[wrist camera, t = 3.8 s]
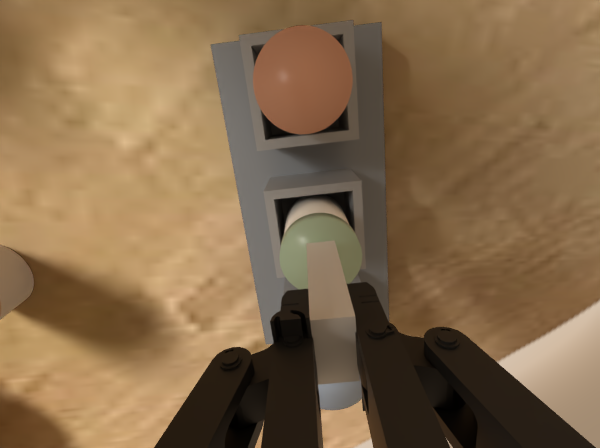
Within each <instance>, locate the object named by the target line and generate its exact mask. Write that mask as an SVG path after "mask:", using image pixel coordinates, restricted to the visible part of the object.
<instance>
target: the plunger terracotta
mask: <svg viewBox="0 0 600 448" xmlns="http://www.w3.org/2000/svg"><path fill="white" fill-rule="evenodd" d="M352 84H353V76H352V68H351V64H350V61H349V58H348V56H347V54H346V52H345V50H344V48H343V47H342V45H341V44H340V43H339V42H338V41H337V40H336V39H335V38H334V37H333V36H332V35H331V34H329V33H328V32H326V31H324V30H322V29H320V28H317V27H313V26H306V25H299V26H293V27H289V28H286V29H284V30H282V31H280V32H278V33H277V34H275V35H274V36H273V37H271V38H270V39H269V40H268V41H267V43H266V44H265V45H264V46H263V48H262V49H261V51H260V53H259V55H258V57H257V60H256V63H255V66H254V72H253V88H254V93H255V97H256V100H257V103H258V105H259V107H260V109H261V110H262V112H263V114H264V115H265V116H266V117H267V118H268V120H269V121H271V122H272V123H273V124H274V125H275V126H277V127H278V128H280V129H282V130H284V131H287V132H289V133H294V134H311V133H316V132H319V131H321V130H323V129H325V128H327V127H328V126H330V125H331V124H332V123H334V122H335V121H336V120H337V119H338V118H339V117H340V115H341V114H342V113H343V111H344V110H345V108H346V106H347V104H348V101H349V99H350V95H351V91H352Z"/></svg>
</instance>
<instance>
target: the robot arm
mask: <svg viewBox="0 0 600 448" xmlns="http://www.w3.org/2000/svg"><path fill="white" fill-rule="evenodd" d="M306 248H307V271H308V289H298V290H288V291H286V293H285V294H284V295H283V297H282V300H281V310H280V311H279V312H277V313H276V314H275V315H273V316H272V318H271V320H270V325H271V331H272V336H273V344H272V345H271V346H270V347H268V348H267V349H265V350H263V351H261V352H258V353H255V354H252V355H251V353H250V352H249V351H248V350H247V349H245V348H241V347H232V348H229V349H226V350H224V351H222V352H220V353H219V354H217V355H216V357H215V358H214V359H213V360H212V361H211V363H210V364H209V366H208V367H207V369H206V370H205V372H204V373H203V375H202V376H201V378H200V379H199V381H198V382H197V384H196V385H195V387H194V388H193V390H192V391H191V393H190V394H189V396H188V397H187V399H186V400H185V402H184V403H183V405H182V406H181V408H180V409H179V411H178V413H177V414H176V416H175V417H174V419H173V420H172V422H171V423H170V425H169V426H168V428H167V429H166V431H165V432H164V434H163V435H162V437H161V438H160V440H159V441H158V443H157V444H156V446H155V447H154V448H255V445H256V443H257V440H258V437H259V434H260V432H261V429H262V426H263V422H264V428H263V436H262V445H261V448H323V438H322V424H321V410H320V397H319V389H318V385H320V384H332V383H343V382H354V381H360V379H361V389H362V404H363V411H366V415H367V420H368V425H369V429H370V434H371V438H372V443H373V448H450V446H449V444H448V442H447V440H448V441H449V443H450V444H451V445H452V447H453V448H596V447H594V446H593V445H592V444H591V443H589V442H588V441H587V440H586V439H585V438H584V437H583V436H582V435H580V434H579V433H578V432H577V431H576V430H575V429H573V428H572V427H571V426H570V425H569V424H568V423H566V422H565V421H564V420H563V419H562V418H561V417H560V416H558V415H557V414H556V413H555V412H554V411H552V410H551V409H550V408H549V407H548V406H547V405H546V404H544V403H543V402H542V401H541V400H540V399H539V398H537V397H536V396H535V395H534V394H533V393H532V392H531V391H529V390H528V389H527V388H526V387H525V386H524V385H522V384H521V383H520V382H519V381H518V380H517V379H515V378H514V377H513V376H512V375H511V374H510V373H508V372H507V371H506V370H505V369H504V368H503V367H501V366H500V365H499V364H498V363H497V362H496V361H495V360H493V359H492V358H491V357H490V356H489V355H488V354H486V353H485V352H484V351H483V350H482V349H481V348H479V347H478V346H477V345H476V344H475V343H474V342H473V341H471V340H470V339H469V338H468V337H467V336H466V335H464V334H463V333H461V332H459V331H457V330H455V329H452V328H447V327H436V328H432V329H430V330H428V331H427V332H426V333H425V335H424V338H420V337H412V336H408V335H404V334H402V333H399V332H398V330H397V329H396V327H395V326H394V325H392V324H391V323H389V321H388V319H387V317H386V314H385V312H384V310H383V307H382V305H381V303H380V301H379V298H378V296H377V293H376V291H375V289H374V287H373V286H371V285H370V284H369V283H367V282H360V283H350V284H346V280H345V276H344V273H343V269H342V266H341V262H340V258H339V255H338V251H337V247H336V244H335V240H334V241H325V242H315V243H306ZM359 375H360V377H359ZM446 438H447V440H446Z"/></svg>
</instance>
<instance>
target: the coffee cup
mask: <svg viewBox="0 0 600 448" xmlns="http://www.w3.org/2000/svg"><path fill="white" fill-rule="evenodd" d="M33 288H34V278H33V274H32V271H31V269H30V267H29V266H28V264H27V263H26V262H25V260H24V259H23V258H22V257H21V256H20V255H18V254H17V253H16V252H14V251H13V250H11V249H9V248H7V247H5V246H2V245H0V320H1V319H2V318H3V317H4V316H6V315H7V314H8V313H9V312H11V311H12V310H13V309H14V308H16V307H17V306H18V305H20V304H21V303H22V302H23V301H25V300H26V299H27V298H28V297H29V296H30V295H31V293H32V291H33Z"/></svg>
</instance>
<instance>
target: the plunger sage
mask: <svg viewBox="0 0 600 448" xmlns="http://www.w3.org/2000/svg"><path fill="white" fill-rule="evenodd" d="M334 240H335V244H336V247H337V251H338V255H339V258H340V262H341V266H342V269H343V273H344V276H345V280H346V284H350V283H351V282H352V281H353V279H354V278H355V277H356V275H357V274H358V272H359V270H360V267H361V263H362V249H361V245H360V243H359V240H358V238H357V236H356V234H355V232H354V230H353V229H352V227H351V226H350V225H349V223H348V221H347V218H346V216H345V214H344V212H343V210H342V208H341V206H340V205H339V204H338V202H337V201H335V200H334V199H333V198H331V197H329V196H327V195H324V194H318V195H309V196H303V197H301V198H299V199H298V200H296V201H295V202H294V203H293V204H292V206H291V207H290V209H289V211H288V213H287V217H286V223H285V231H284V236H283V238H282V242H281V248H280V257H279V259H280V266H281V269H282V272H283V274H284V276H285V277H286V279H287V280H288V281H289V282H290V283H291V284H292V285H293V286H295V287H296V288H298V289H308V271H307V248H306V243H315V242H325V241H334Z"/></svg>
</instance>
